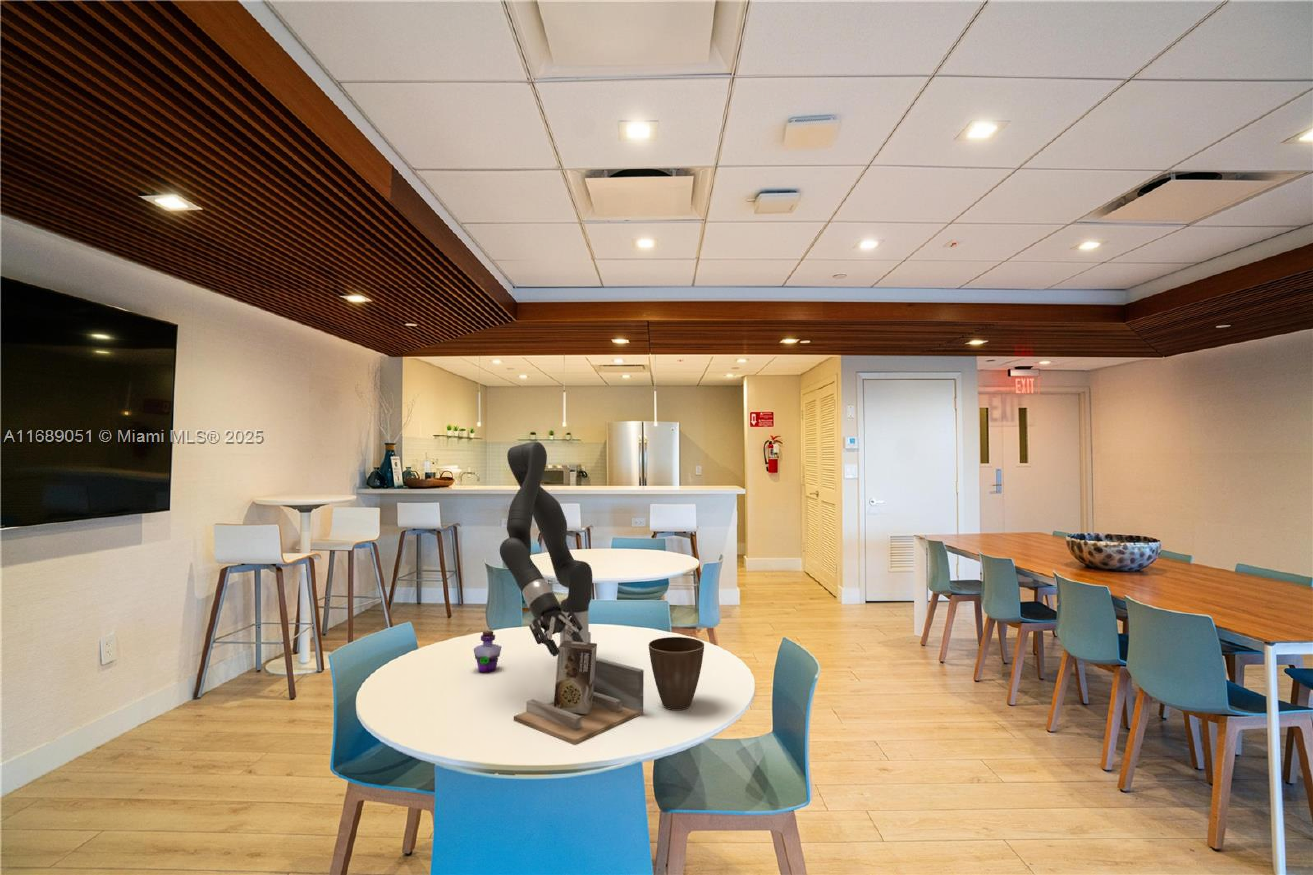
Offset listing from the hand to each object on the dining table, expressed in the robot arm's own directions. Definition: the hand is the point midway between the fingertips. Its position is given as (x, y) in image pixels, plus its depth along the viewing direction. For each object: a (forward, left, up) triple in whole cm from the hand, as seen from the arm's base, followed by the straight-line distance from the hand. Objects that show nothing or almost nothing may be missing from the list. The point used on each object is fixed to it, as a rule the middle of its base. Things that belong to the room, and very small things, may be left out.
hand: (569, 651), depth 158 cm
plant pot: (-22, +18, -16) cm, 33 cm away
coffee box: (0, +1, -14) cm, 14 cm away
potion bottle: (-8, -46, -16) cm, 49 cm away
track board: (0, +4, -16) cm, 16 cm away
